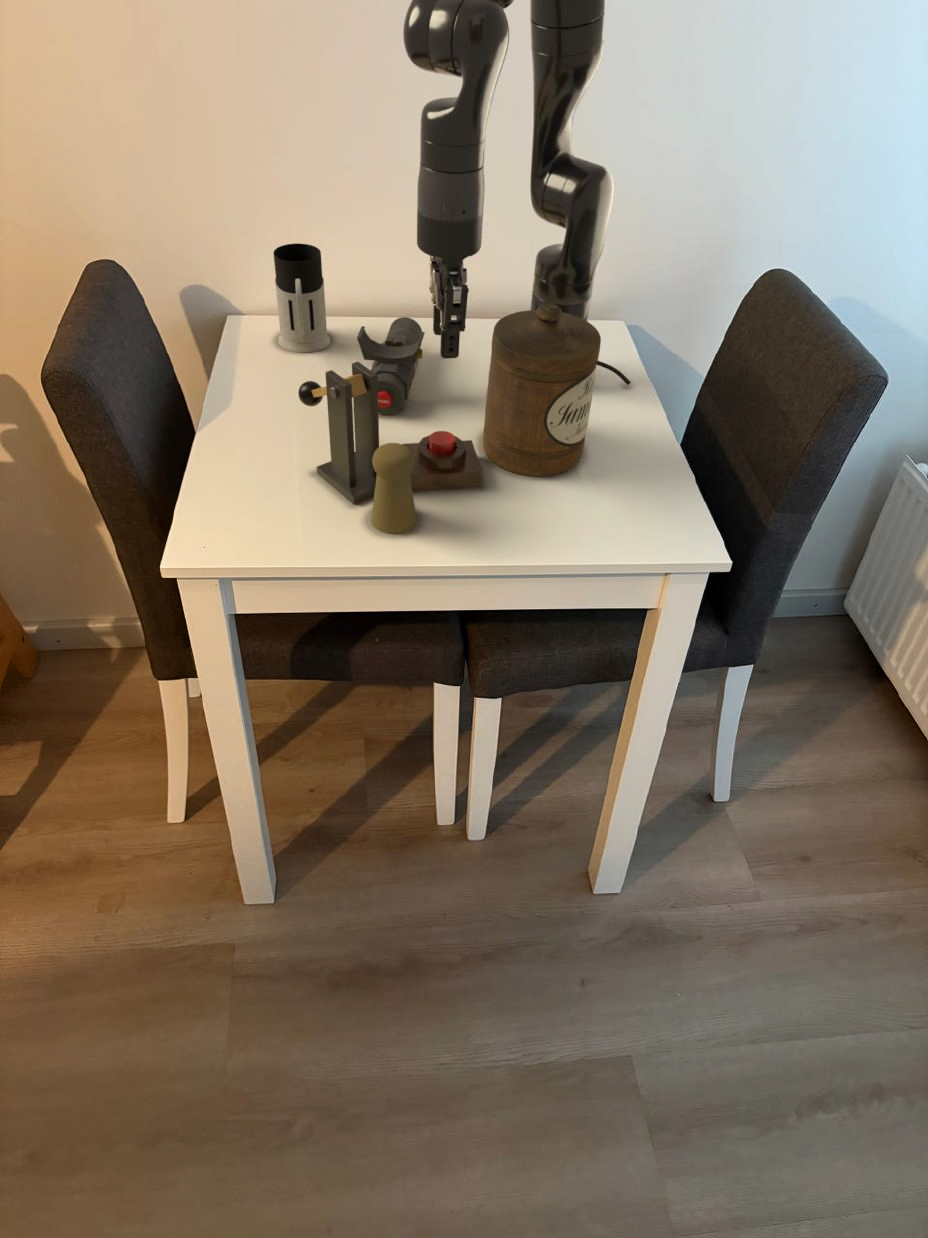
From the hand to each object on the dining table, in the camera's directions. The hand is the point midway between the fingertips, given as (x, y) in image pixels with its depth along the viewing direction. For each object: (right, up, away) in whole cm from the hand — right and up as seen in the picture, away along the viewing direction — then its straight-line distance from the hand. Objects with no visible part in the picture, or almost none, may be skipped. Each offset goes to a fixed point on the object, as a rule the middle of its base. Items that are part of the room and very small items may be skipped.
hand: (445, 344), depth 112 cm
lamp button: (-1, -11, +11) cm, 15 cm away
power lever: (-15, -6, +7) cm, 17 cm away
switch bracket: (-13, -15, +11) cm, 23 cm away
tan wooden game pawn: (-7, -22, +5) cm, 23 cm away
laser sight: (-9, +3, +31) cm, 33 cm away
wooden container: (+13, -10, +19) cm, 25 cm away
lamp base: (-1, -14, +13) cm, 20 cm away
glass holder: (-25, +11, +38) cm, 47 cm away
